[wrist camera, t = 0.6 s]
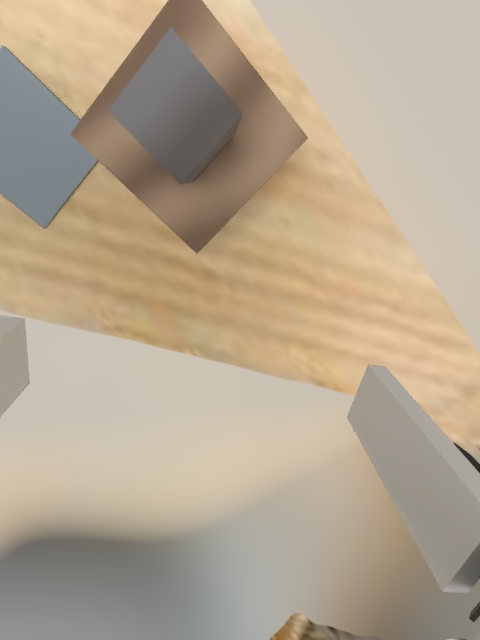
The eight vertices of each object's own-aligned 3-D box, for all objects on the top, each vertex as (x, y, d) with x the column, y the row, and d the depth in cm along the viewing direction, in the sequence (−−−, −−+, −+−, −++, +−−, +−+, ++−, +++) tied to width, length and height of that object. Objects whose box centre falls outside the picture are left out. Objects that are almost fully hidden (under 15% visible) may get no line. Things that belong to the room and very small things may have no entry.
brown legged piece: (117, 147, 36) (-20, 107, 15) (196, 48, 32) (159, -174, 12) (203, 231, 40) (186, 290, 19) (280, 150, 37) (359, 115, 16)
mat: (-56, 145, 34) (-60, 144, 34) (5, 47, 32) (2, 45, 31) (45, 227, 38) (43, 228, 38) (108, 147, 35) (107, 147, 35)
